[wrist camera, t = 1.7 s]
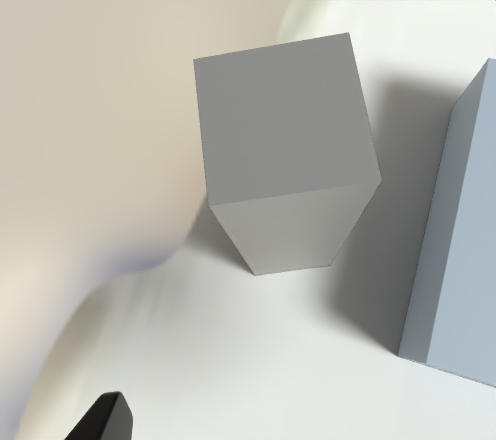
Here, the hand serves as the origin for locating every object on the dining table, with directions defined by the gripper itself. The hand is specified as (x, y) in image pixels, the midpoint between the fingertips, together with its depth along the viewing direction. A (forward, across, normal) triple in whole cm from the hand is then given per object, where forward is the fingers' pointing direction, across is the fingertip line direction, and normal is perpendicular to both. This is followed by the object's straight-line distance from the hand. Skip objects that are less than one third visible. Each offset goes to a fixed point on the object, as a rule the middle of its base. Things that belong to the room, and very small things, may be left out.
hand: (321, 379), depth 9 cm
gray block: (+13, 0, +4) cm, 14 cm away
